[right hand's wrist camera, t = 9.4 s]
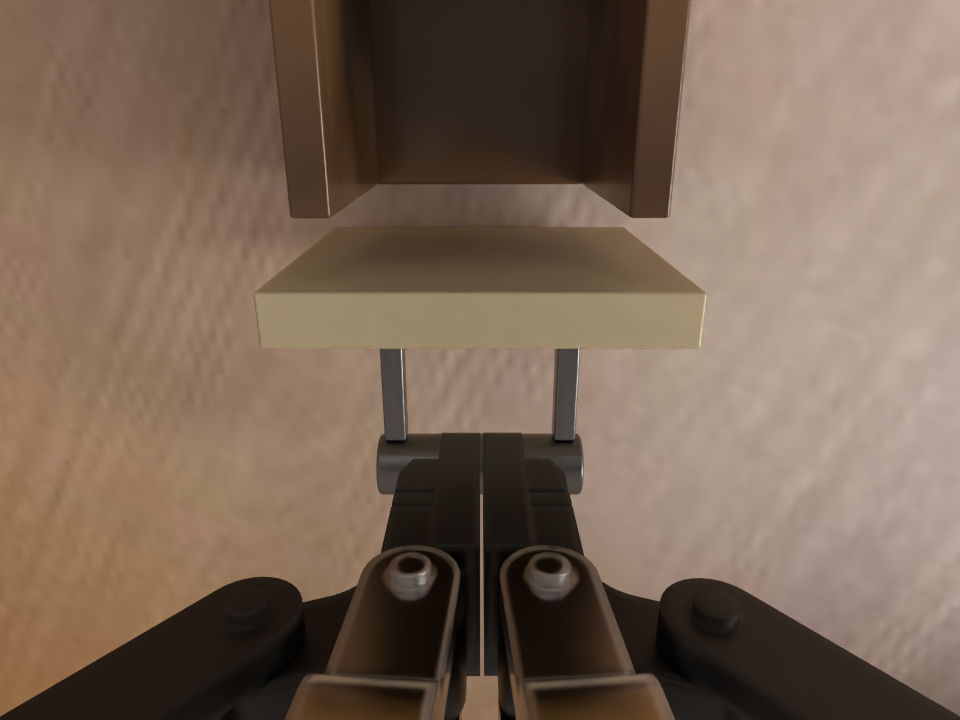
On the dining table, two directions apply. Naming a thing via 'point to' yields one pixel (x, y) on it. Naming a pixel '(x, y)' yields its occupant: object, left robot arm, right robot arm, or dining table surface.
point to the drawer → (479, 160)
